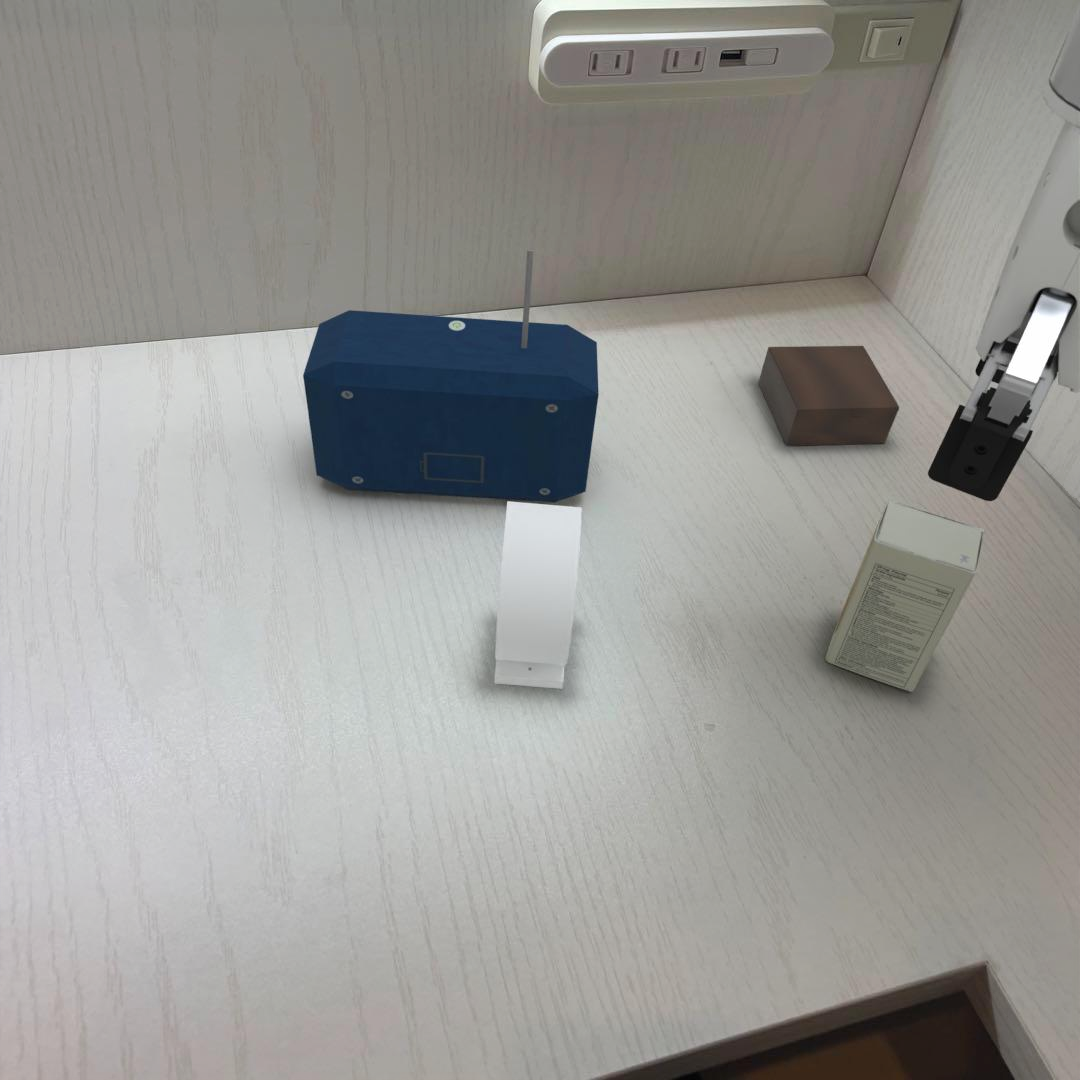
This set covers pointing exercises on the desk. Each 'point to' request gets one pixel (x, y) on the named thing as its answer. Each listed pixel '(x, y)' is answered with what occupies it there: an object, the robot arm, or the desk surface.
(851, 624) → the cosmetic box
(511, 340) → the radio
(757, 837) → the desk surface
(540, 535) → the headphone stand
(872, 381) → the walnut block
